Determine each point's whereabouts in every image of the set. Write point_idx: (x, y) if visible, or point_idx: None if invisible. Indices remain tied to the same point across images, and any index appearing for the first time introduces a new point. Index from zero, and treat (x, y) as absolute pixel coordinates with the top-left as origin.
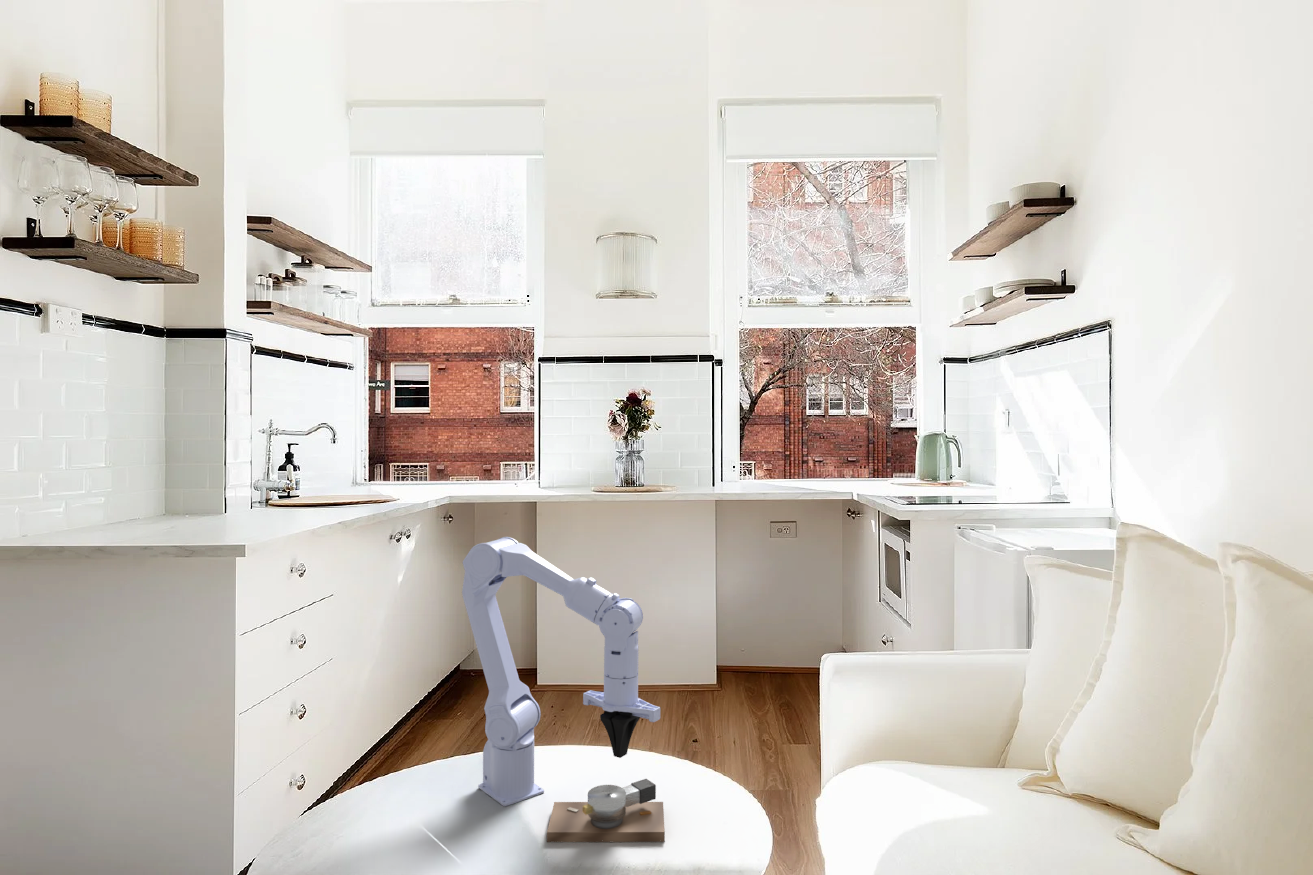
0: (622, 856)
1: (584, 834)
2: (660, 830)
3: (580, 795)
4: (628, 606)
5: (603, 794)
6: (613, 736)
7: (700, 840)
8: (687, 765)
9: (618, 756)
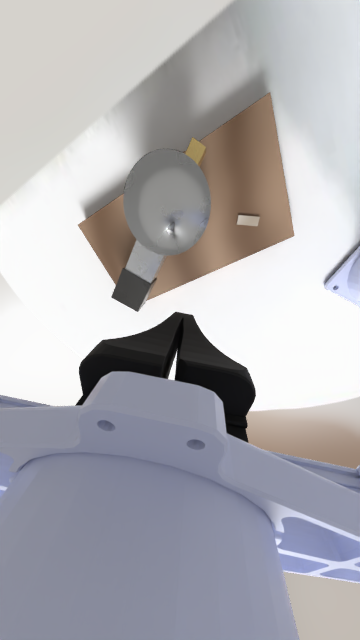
0: (115, 147)
1: None
2: (85, 226)
3: (260, 301)
4: None
5: (170, 199)
6: (183, 333)
7: (57, 255)
8: None
9: (178, 312)
